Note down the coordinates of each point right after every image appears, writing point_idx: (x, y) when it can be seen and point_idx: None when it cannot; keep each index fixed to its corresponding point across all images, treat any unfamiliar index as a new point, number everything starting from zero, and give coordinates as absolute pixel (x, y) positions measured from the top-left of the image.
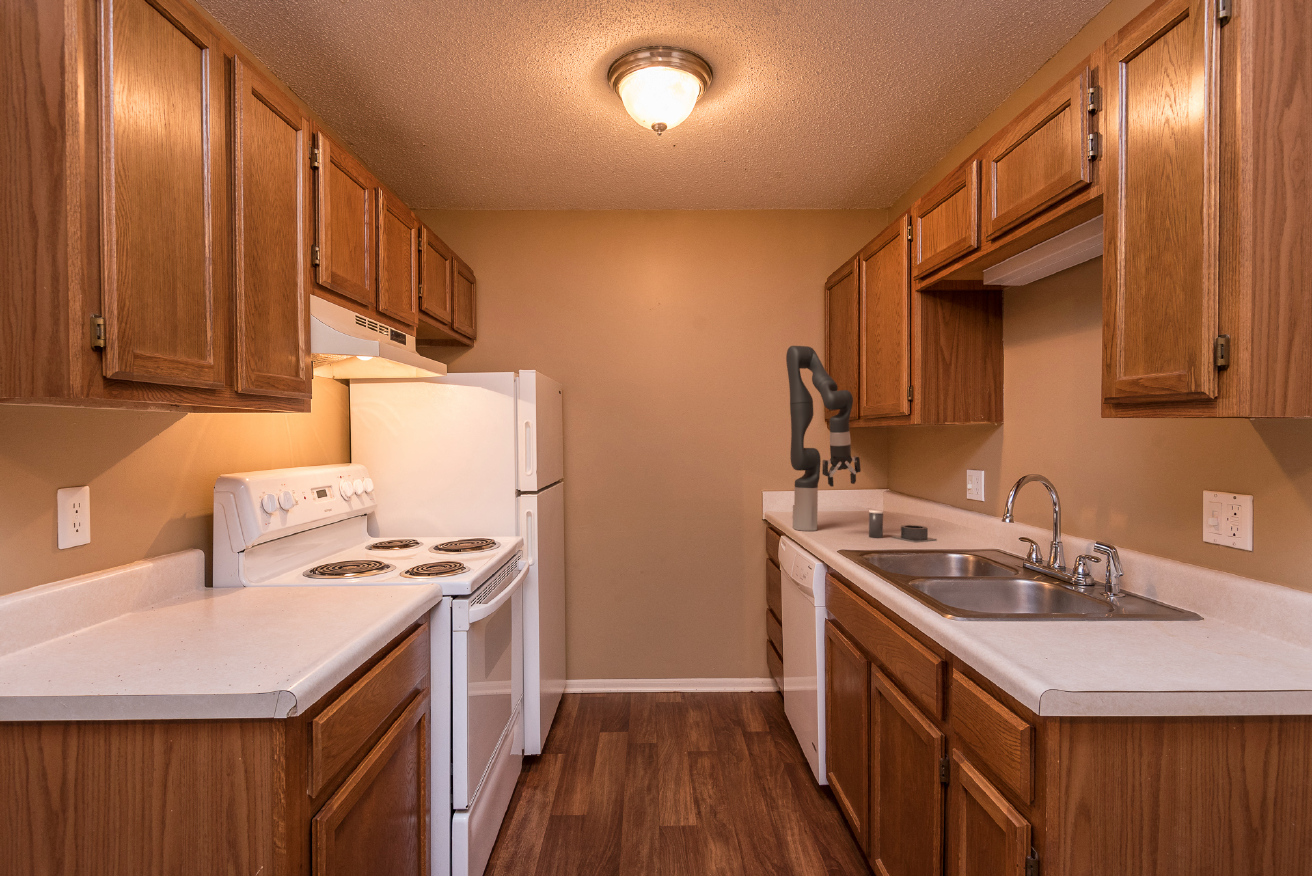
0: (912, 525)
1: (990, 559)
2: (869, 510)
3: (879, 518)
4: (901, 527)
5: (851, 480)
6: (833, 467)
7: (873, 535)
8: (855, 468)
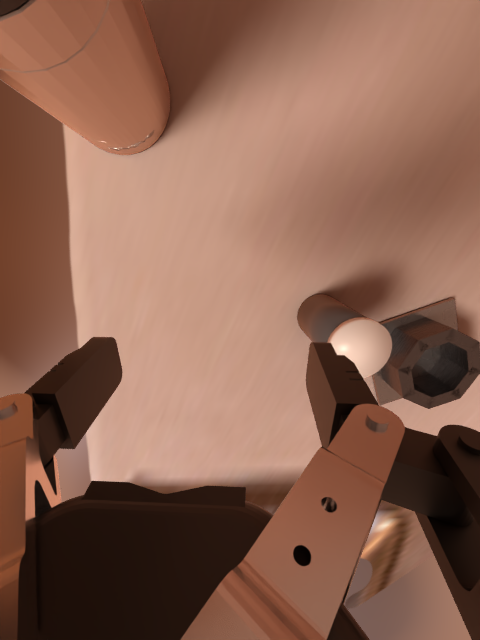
0: (460, 338)
1: (397, 553)
2: (334, 343)
3: None
4: (396, 369)
5: (314, 373)
6: (6, 514)
7: (304, 332)
8: (455, 478)
